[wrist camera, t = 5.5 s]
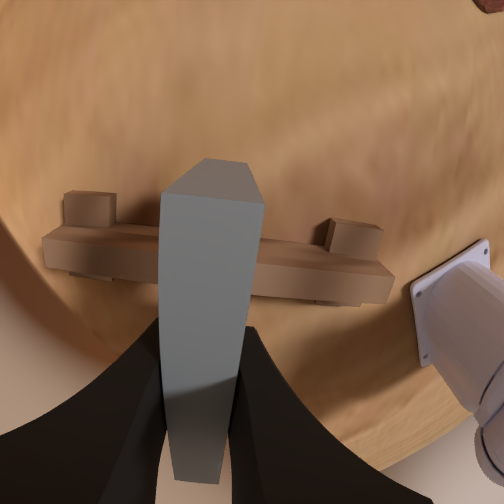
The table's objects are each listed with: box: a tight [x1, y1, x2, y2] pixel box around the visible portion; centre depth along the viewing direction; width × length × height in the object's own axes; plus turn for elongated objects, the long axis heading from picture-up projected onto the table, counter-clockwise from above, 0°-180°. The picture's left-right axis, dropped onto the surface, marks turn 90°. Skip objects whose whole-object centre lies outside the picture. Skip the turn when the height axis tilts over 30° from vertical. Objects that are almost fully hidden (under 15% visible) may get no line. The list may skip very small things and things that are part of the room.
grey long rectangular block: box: [158, 158, 265, 484], centre depth 9 cm, size 10×2×7 cm, turn 172°
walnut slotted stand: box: [42, 191, 395, 307], centre depth 15 cm, size 18×5×4 cm, turn 82°
